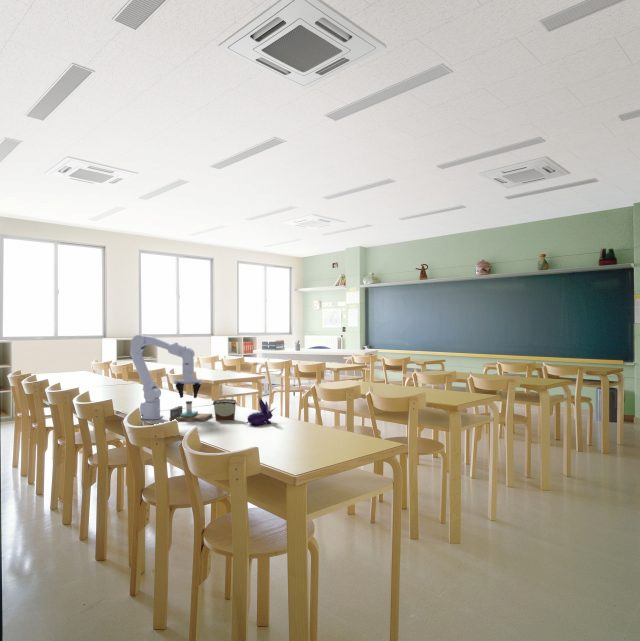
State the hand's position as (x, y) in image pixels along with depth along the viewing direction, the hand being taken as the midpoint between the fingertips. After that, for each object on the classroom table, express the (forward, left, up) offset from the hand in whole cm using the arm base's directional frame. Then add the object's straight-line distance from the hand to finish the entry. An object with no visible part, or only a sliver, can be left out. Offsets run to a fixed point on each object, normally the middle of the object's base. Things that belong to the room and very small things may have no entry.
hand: (188, 397), depth 254 cm
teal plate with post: (+2, -3, -8) cm, 9 cm away
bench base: (+3, -3, -10) cm, 11 cm away
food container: (+22, -3, -11) cm, 24 cm away
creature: (+42, -11, -11) cm, 45 cm away
